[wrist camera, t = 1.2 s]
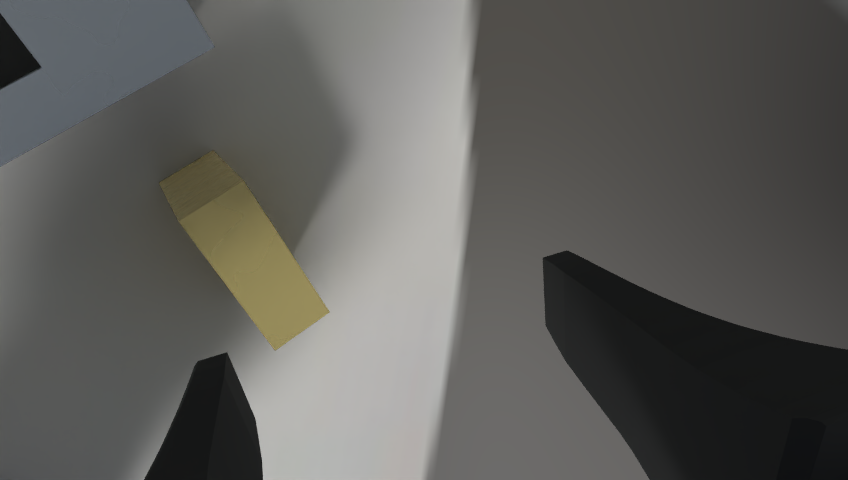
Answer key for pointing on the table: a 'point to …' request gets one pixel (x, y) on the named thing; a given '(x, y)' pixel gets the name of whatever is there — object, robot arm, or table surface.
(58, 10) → the box
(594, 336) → the robot arm
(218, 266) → the block
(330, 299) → the table surface
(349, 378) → the table surface
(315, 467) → the table surface
